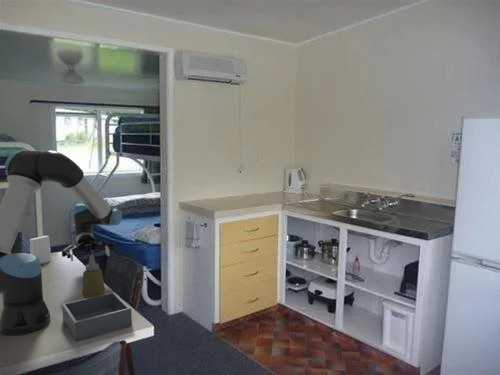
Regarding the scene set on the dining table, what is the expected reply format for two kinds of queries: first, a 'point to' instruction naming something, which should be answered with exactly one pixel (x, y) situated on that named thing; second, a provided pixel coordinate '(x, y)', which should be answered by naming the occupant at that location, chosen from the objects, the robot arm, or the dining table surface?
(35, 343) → the dining table surface
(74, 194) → the robot arm
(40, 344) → the dining table surface
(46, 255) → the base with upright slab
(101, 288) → the squeeze bottle
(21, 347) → the dining table surface
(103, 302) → the box
